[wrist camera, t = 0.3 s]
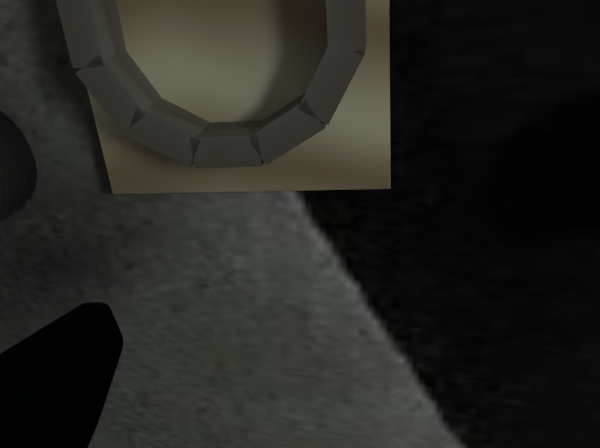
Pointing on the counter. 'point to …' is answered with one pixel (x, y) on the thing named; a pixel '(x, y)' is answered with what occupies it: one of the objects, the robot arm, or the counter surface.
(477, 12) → the counter surface
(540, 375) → the counter surface
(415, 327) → the counter surface
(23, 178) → the steel peg
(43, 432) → the robot arm
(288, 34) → the socket plate
